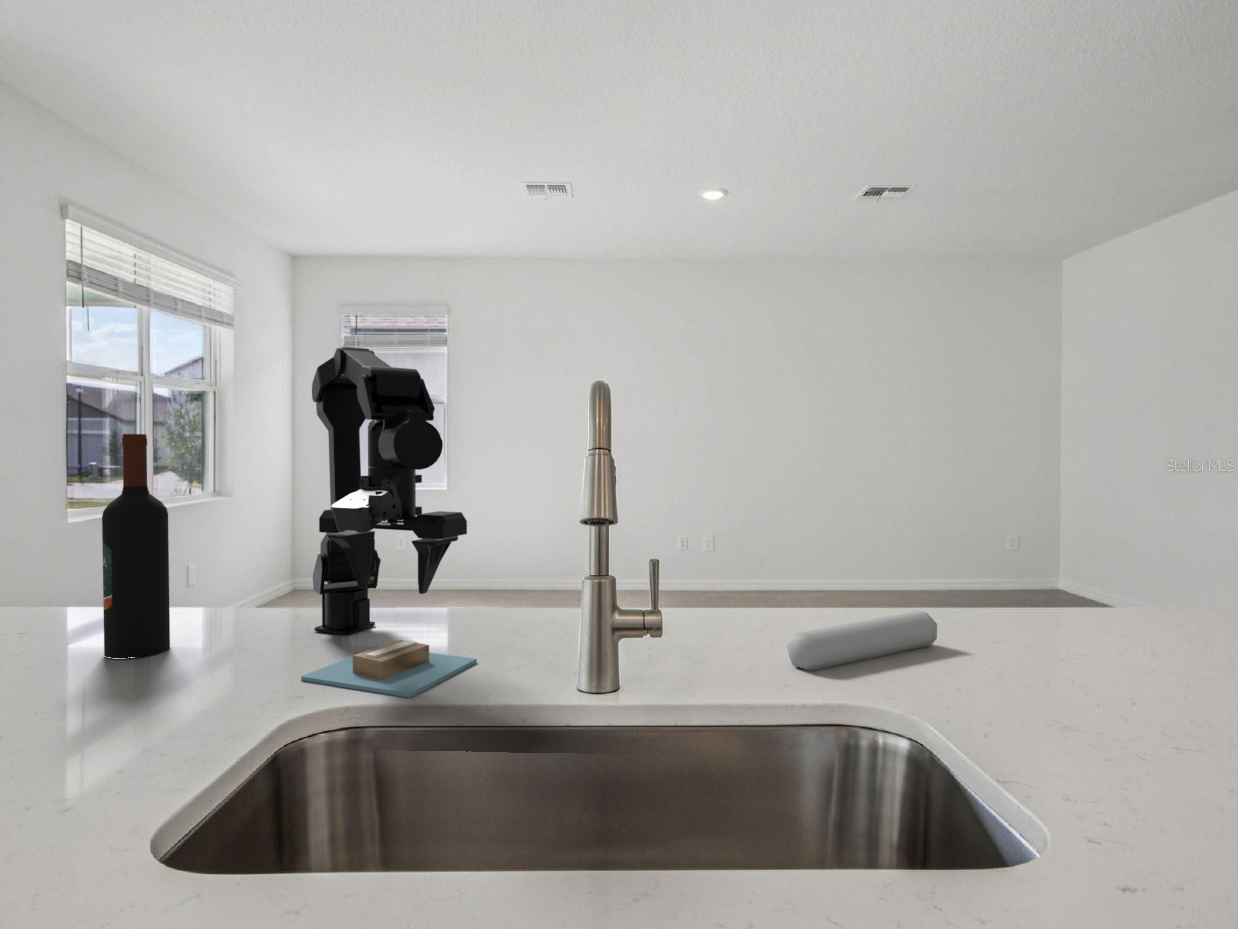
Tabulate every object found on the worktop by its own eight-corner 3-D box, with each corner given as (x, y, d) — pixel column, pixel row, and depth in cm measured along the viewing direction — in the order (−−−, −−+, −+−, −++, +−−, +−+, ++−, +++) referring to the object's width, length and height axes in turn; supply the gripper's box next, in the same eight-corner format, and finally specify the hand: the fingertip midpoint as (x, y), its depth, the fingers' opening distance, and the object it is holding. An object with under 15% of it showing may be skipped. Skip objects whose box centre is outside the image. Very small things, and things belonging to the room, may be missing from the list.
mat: (301, 680, 87) (301, 676, 87) (378, 649, 100) (378, 645, 100) (410, 698, 81) (410, 693, 81) (476, 662, 94) (476, 658, 94)
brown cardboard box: (401, 656, 95) (401, 637, 95) (429, 661, 93) (429, 642, 93) (352, 673, 88) (352, 653, 88) (381, 679, 86) (381, 659, 86)
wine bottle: (137, 661, 94) (133, 433, 93) (89, 657, 95) (85, 433, 94) (183, 645, 101) (180, 434, 100) (138, 642, 103) (135, 434, 102)
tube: (812, 648, 89) (942, 622, 101) (784, 625, 93) (912, 603, 106) (802, 683, 91) (931, 654, 103) (775, 659, 95) (902, 634, 107)
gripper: (284, 468, 85) (285, 597, 86) (414, 470, 79) (414, 610, 79) (349, 465, 96) (350, 581, 96) (469, 467, 89) (469, 591, 90)
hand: (392, 590), depth 90 cm, fingers open, 9 cm apart
